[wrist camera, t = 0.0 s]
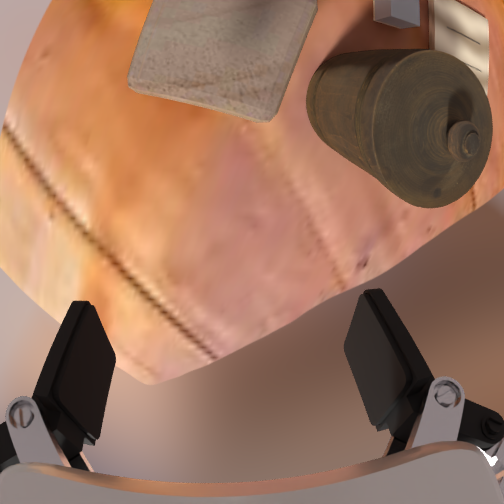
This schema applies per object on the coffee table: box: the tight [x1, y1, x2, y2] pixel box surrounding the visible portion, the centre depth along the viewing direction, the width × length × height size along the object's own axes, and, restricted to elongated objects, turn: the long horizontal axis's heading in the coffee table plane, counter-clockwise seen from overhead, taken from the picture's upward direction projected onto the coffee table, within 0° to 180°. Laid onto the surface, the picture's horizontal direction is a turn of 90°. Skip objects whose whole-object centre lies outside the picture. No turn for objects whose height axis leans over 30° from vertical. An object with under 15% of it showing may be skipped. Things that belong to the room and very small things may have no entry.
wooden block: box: [127, 0, 318, 123], centre depth 22 cm, size 10×10×20 cm
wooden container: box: [306, 49, 493, 208], centre depth 25 cm, size 15×15×22 cm
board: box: [428, 0, 489, 95], centre depth 30 cm, size 24×13×2 cm, turn 179°
